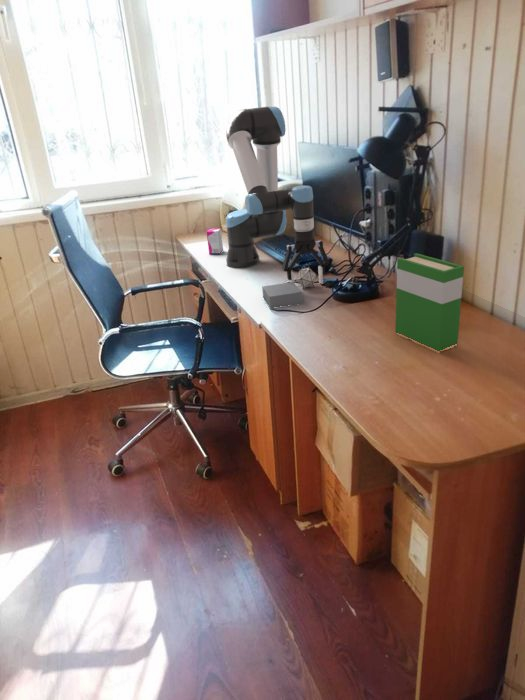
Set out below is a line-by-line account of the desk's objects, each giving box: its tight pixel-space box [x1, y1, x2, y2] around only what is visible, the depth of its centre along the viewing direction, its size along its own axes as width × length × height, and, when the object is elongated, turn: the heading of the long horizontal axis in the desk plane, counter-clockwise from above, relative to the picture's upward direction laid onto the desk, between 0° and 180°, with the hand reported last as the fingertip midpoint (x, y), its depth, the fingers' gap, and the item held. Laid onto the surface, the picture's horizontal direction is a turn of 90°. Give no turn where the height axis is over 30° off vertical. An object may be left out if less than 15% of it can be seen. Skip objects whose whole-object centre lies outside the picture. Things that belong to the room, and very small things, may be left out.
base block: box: [262, 281, 304, 309], centre depth 200 cm, size 12×12×5 cm
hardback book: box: [394, 253, 465, 351], centre depth 157 cm, size 18×7×24 cm, turn 30°
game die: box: [294, 265, 319, 290], centre depth 211 cm, size 9×8×10 cm
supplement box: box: [206, 228, 224, 255], centre depth 266 cm, size 6×6×12 cm
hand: (306, 285), depth 212 cm, fingers open, 11 cm apart
